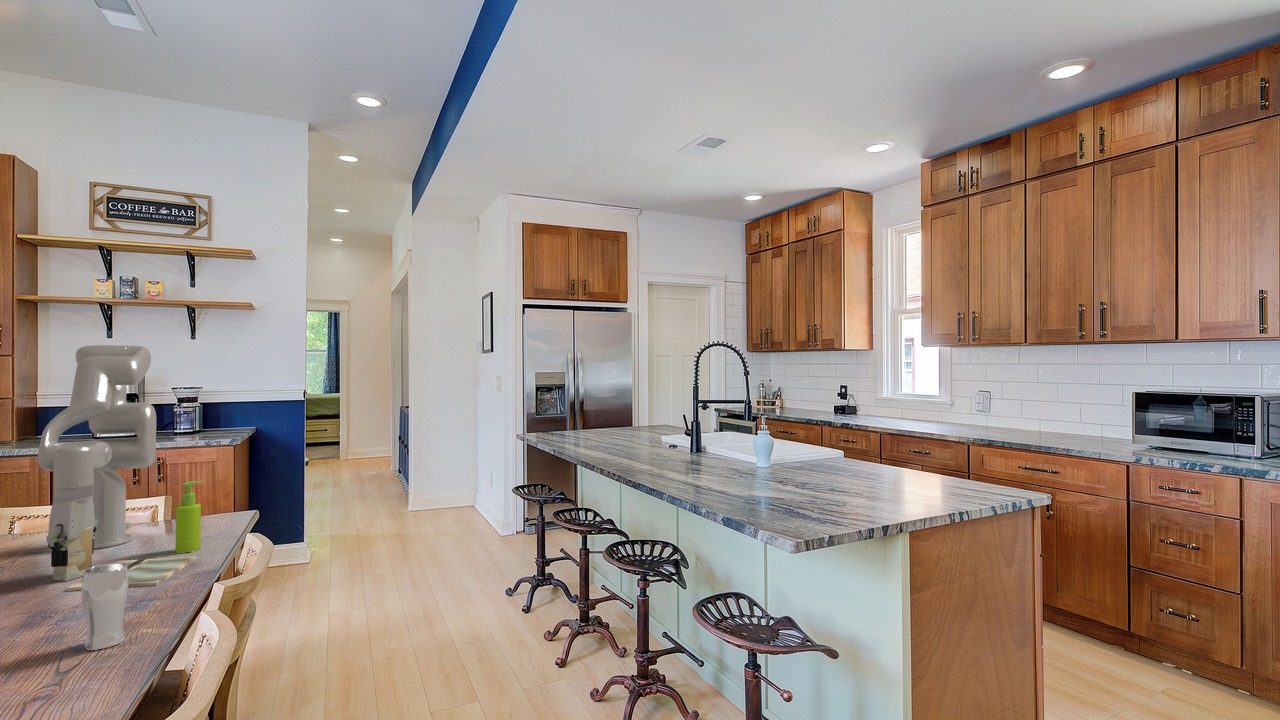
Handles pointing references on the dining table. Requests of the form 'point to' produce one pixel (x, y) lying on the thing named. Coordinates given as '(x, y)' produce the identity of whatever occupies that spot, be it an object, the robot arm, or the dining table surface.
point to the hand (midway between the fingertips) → (73, 560)
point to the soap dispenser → (188, 521)
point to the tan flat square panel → (148, 571)
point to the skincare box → (76, 557)
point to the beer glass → (104, 604)
